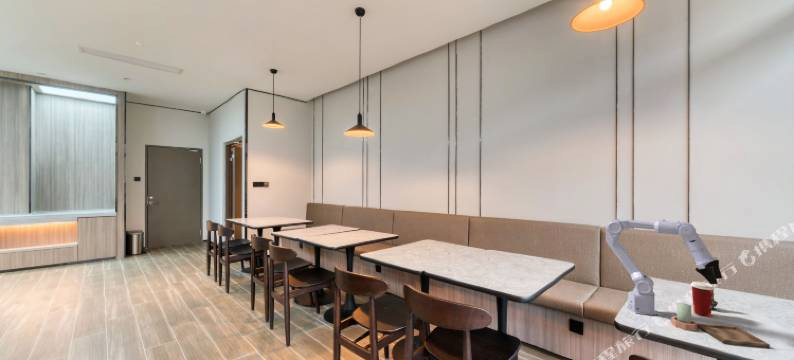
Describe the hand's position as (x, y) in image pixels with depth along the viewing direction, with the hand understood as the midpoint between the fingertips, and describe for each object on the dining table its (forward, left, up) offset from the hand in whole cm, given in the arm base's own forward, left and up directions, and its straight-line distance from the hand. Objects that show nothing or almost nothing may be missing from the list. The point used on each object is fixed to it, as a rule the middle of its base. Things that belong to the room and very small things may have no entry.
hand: (716, 281), depth 128 cm
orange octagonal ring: (-12, -2, -19) cm, 23 cm away
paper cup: (+4, +13, -20) cm, 24 cm away
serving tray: (0, -8, -19) cm, 21 cm away
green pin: (-12, -2, -20) cm, 23 cm away
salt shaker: (+12, +21, -20) cm, 31 cm away
